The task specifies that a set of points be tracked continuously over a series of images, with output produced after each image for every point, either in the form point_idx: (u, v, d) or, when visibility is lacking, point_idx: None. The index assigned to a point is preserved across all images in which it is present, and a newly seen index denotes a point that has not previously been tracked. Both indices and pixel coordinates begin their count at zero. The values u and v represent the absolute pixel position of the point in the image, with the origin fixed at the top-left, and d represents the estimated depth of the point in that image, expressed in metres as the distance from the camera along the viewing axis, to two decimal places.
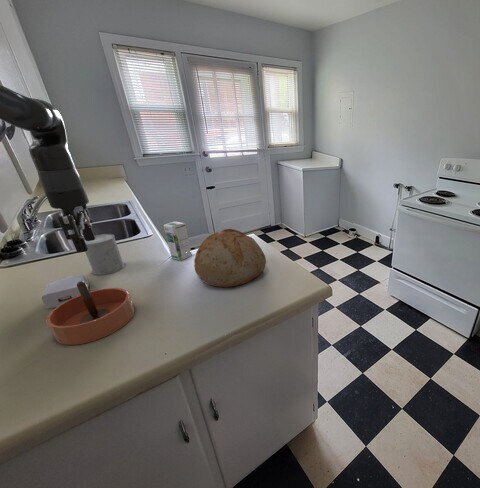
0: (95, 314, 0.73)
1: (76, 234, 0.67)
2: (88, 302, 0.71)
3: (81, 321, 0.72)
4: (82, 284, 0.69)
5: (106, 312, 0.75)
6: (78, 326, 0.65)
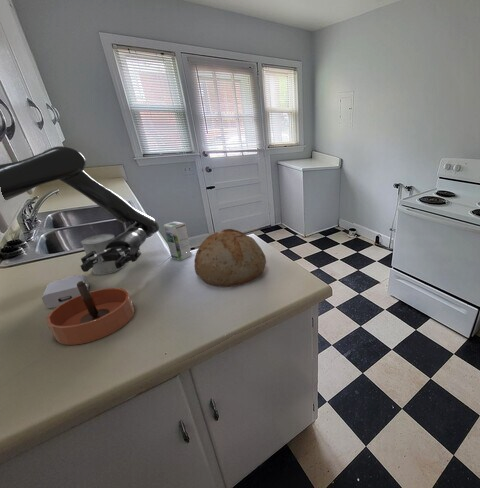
0: (95, 314, 0.73)
1: (136, 259, 0.85)
2: (88, 302, 0.71)
3: (81, 321, 0.72)
4: (82, 284, 0.69)
5: (106, 312, 0.75)
6: (78, 326, 0.65)
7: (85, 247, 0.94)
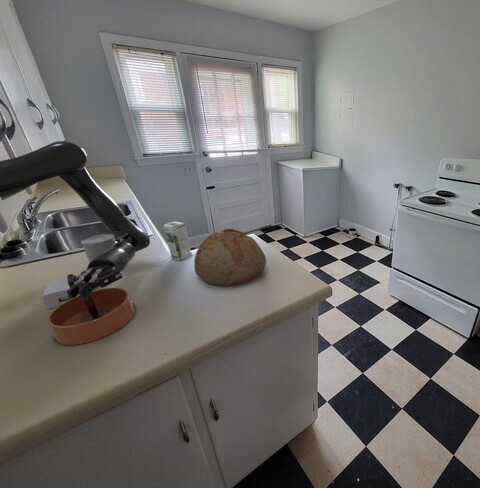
0: (95, 314, 0.73)
1: (106, 284, 0.73)
2: (88, 302, 0.71)
3: (81, 321, 0.72)
4: (82, 284, 0.69)
5: (106, 312, 0.75)
6: (78, 326, 0.65)
7: (85, 247, 0.94)
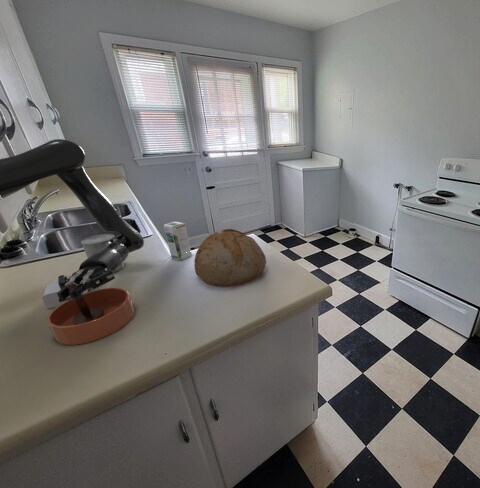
0: (88, 314, 0.73)
1: (98, 286, 0.73)
2: (80, 303, 0.71)
3: (74, 321, 0.72)
4: (72, 285, 0.68)
5: (99, 312, 0.75)
6: (78, 326, 0.65)
7: (85, 247, 0.94)
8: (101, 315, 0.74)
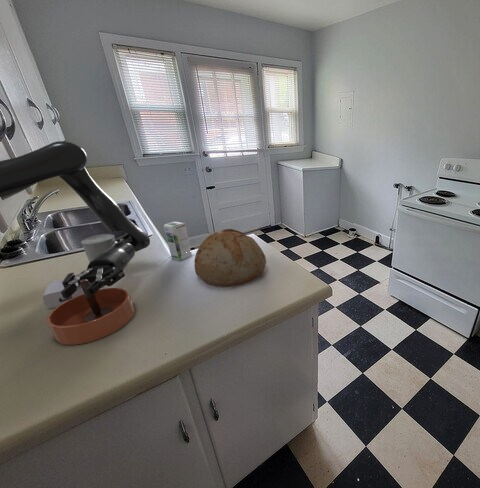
0: (97, 312, 0.74)
1: (113, 283, 0.74)
2: (90, 300, 0.72)
3: (84, 318, 0.73)
4: (84, 282, 0.70)
5: (109, 311, 0.76)
6: (78, 326, 0.65)
7: (85, 247, 0.94)
8: None
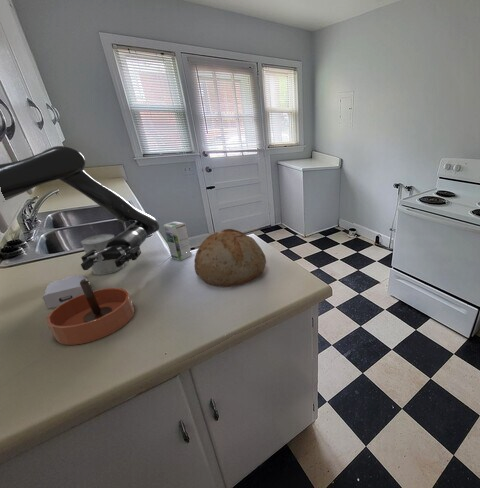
0: (97, 312, 0.74)
1: (136, 257, 0.85)
2: (90, 300, 0.72)
3: (84, 318, 0.73)
4: (84, 282, 0.70)
5: (109, 311, 0.76)
6: (78, 326, 0.65)
7: (85, 247, 0.94)
8: None
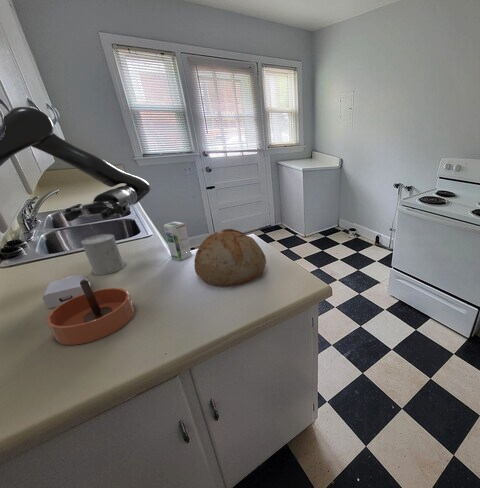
0: (97, 312, 0.74)
1: (124, 212, 0.81)
2: (90, 300, 0.72)
3: (84, 318, 0.73)
4: (84, 282, 0.70)
5: (109, 311, 0.76)
6: (78, 326, 0.65)
7: (85, 247, 0.94)
8: None
